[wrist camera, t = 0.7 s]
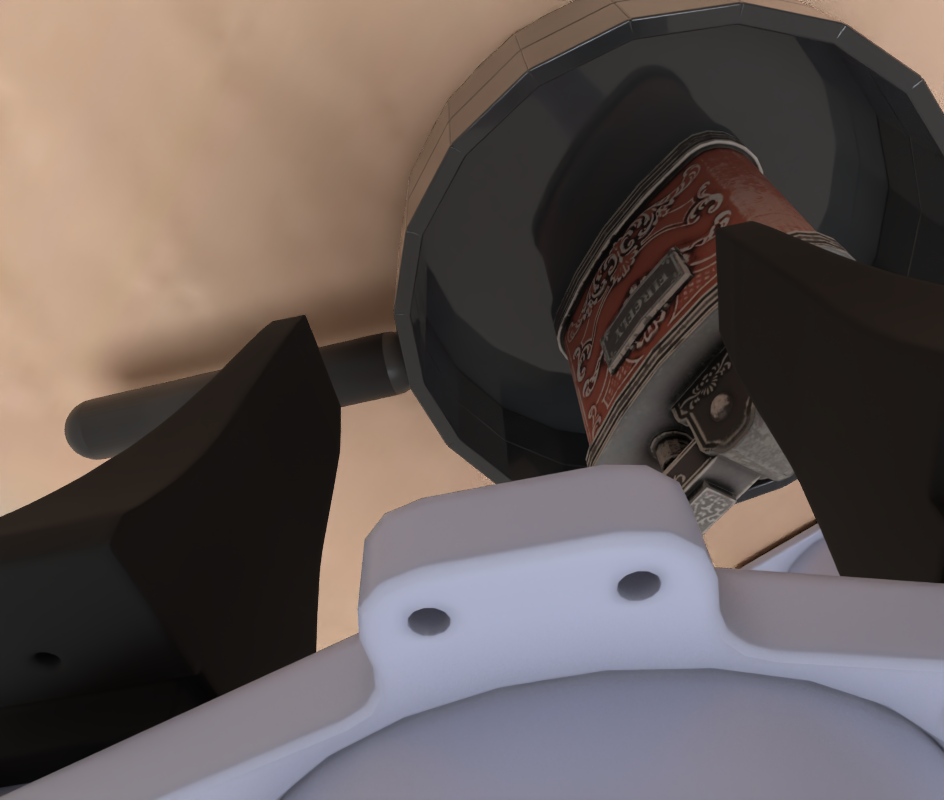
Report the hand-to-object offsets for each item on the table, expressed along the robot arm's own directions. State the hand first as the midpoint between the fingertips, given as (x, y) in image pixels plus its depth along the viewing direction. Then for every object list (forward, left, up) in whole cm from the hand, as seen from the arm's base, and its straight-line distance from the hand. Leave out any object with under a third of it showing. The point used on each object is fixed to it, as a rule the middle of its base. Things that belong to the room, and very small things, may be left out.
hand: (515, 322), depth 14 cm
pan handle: (0, +10, -8) cm, 12 cm away
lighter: (-6, -1, -10) cm, 12 cm away
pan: (-6, -1, -10) cm, 12 cm away
